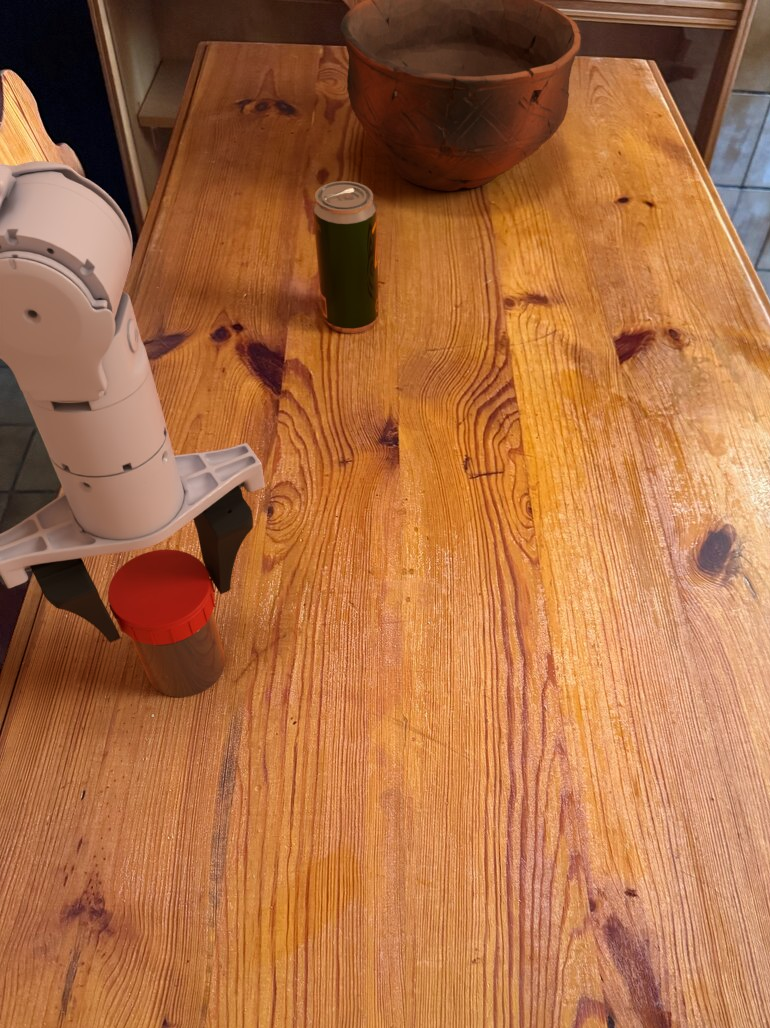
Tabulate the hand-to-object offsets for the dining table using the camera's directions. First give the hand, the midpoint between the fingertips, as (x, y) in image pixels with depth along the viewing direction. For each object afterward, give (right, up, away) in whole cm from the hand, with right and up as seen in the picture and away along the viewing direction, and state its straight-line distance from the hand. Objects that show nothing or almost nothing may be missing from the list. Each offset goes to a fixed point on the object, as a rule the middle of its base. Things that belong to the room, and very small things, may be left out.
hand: (165, 604), depth 54 cm
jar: (0, -4, +5) cm, 7 cm away
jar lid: (0, +1, -1) cm, 1 cm away
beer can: (+8, +27, +30) cm, 41 cm away
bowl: (+18, +50, +49) cm, 72 cm away
